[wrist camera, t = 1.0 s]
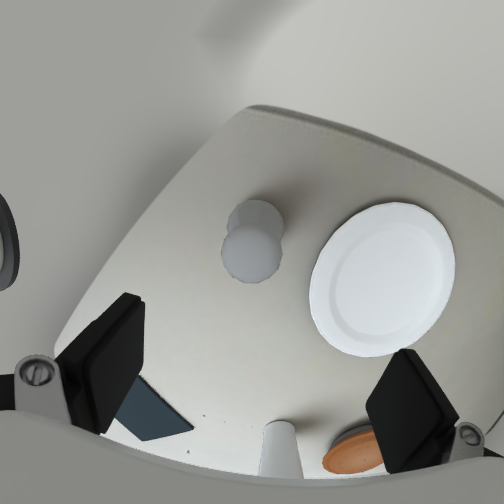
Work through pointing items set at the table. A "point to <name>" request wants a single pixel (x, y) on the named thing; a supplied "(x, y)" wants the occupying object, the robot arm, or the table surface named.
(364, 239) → the plate
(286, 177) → the table surface
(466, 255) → the table surface
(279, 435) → the drinking glass
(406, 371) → the robot arm
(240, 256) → the salt shaker
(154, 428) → the mat
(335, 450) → the pie
